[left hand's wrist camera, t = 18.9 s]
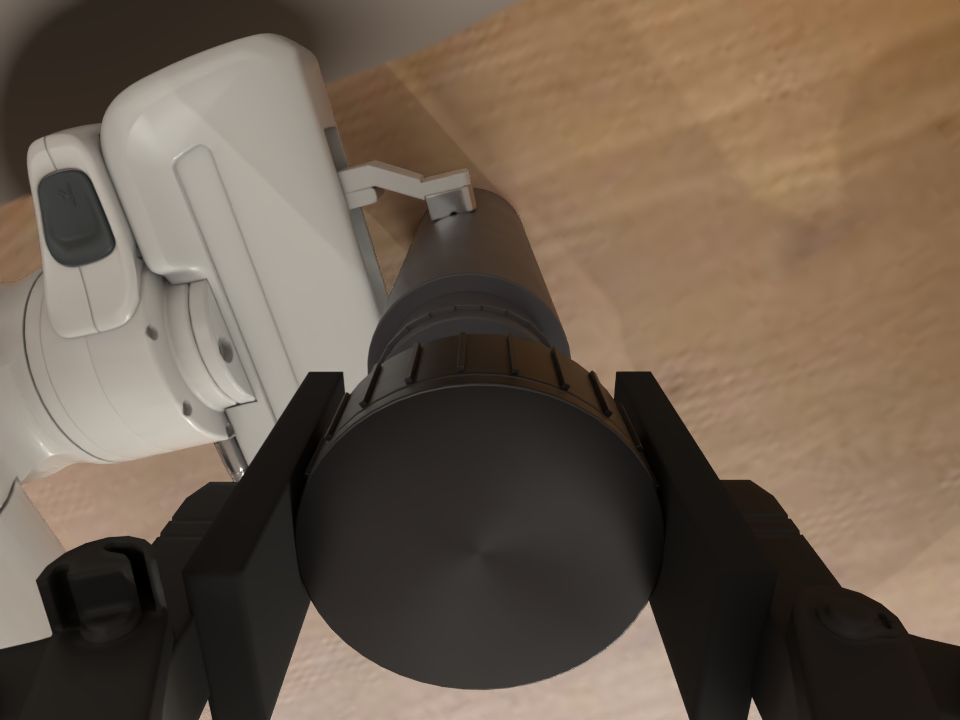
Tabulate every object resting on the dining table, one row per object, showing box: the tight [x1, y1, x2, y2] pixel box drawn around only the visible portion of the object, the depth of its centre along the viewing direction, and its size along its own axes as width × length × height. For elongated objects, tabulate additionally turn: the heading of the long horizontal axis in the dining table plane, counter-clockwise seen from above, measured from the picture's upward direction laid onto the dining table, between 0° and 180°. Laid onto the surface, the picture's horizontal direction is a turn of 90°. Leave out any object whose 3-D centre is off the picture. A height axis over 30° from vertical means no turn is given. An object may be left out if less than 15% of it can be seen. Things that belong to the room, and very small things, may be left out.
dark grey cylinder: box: [367, 188, 571, 374], centre depth 24 cm, size 5×5×18 cm
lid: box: [294, 332, 666, 690], centre depth 12 cm, size 6×6×2 cm
